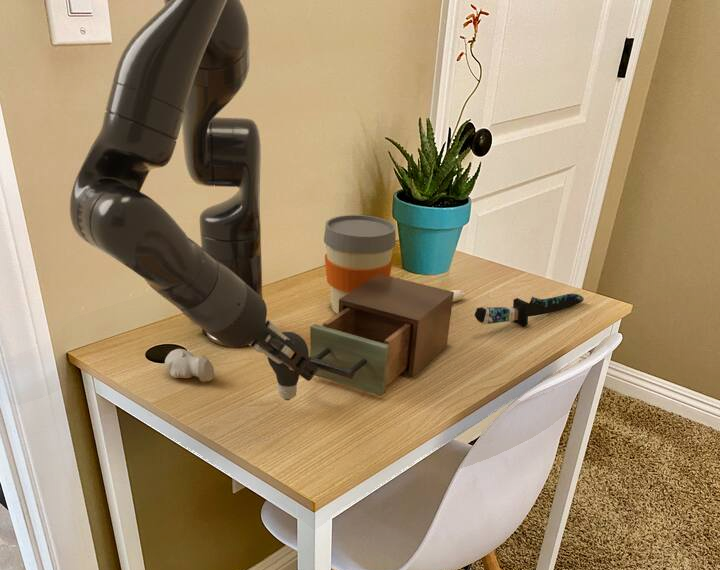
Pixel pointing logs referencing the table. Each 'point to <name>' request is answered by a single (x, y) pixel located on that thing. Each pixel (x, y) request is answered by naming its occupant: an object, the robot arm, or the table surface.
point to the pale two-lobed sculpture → (188, 365)
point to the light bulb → (283, 373)
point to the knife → (526, 309)
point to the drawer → (361, 349)
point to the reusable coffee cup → (356, 252)
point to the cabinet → (408, 313)
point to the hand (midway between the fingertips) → (297, 365)
